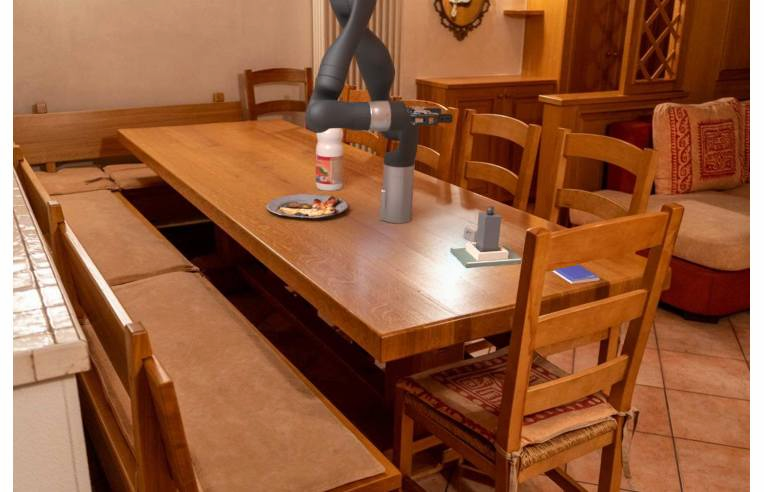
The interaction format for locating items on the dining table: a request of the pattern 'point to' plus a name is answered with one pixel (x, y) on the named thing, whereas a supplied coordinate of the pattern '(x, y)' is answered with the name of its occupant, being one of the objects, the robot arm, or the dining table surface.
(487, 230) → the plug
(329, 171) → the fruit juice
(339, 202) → the food plate
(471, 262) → the board
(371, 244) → the dining table surface
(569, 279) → the blue book
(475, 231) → the usb wall charger
